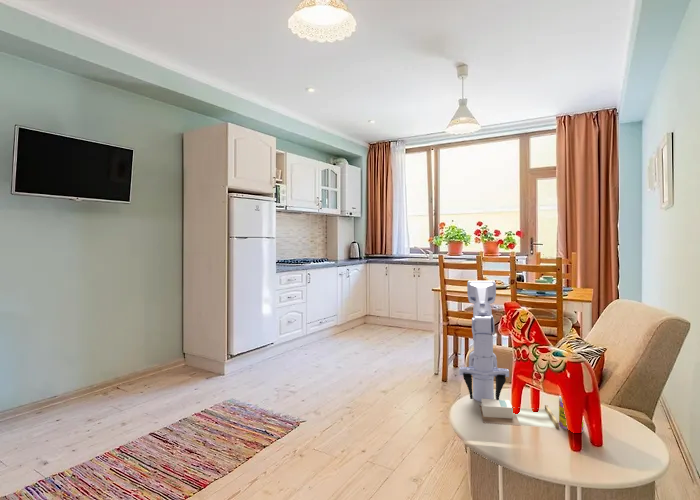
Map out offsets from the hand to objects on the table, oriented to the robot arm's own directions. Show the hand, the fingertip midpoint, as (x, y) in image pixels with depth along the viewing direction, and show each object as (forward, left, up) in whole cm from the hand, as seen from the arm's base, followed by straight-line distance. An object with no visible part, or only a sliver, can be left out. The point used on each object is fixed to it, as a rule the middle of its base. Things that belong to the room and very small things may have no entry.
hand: (484, 398), depth 128 cm
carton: (-11, +5, -9) cm, 15 cm away
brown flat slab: (-10, +11, -10) cm, 18 cm away
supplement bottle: (-5, +26, -10) cm, 28 cm away
